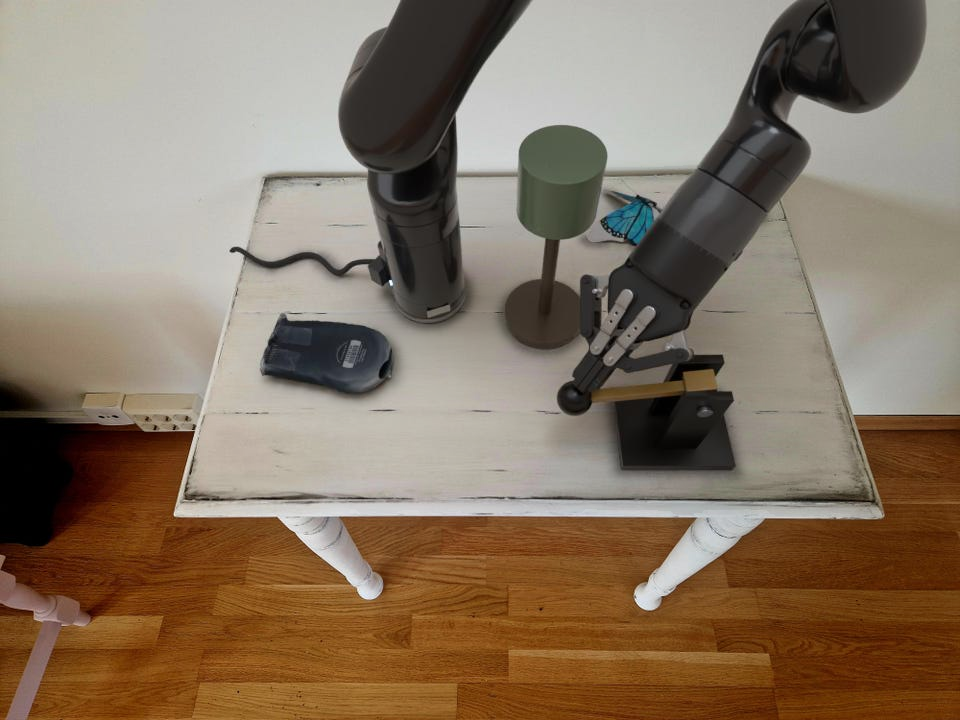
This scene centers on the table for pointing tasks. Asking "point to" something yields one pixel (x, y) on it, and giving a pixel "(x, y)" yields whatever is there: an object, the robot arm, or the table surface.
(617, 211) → the decorative butterfly
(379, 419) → the table surface
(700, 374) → the lever with ball knob
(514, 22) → the robot arm
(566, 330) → the desk lamp
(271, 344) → the electronic device
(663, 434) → the switch bracket
